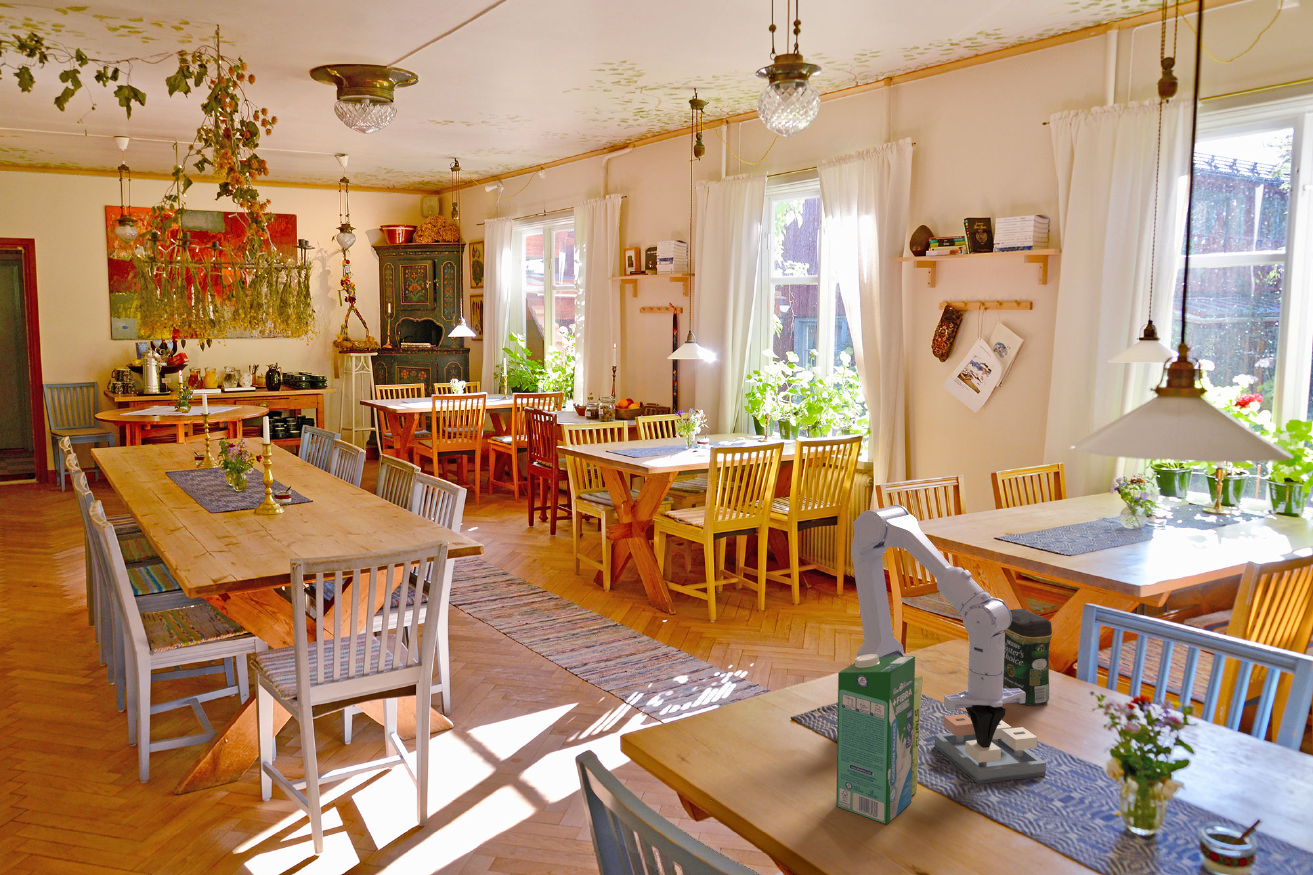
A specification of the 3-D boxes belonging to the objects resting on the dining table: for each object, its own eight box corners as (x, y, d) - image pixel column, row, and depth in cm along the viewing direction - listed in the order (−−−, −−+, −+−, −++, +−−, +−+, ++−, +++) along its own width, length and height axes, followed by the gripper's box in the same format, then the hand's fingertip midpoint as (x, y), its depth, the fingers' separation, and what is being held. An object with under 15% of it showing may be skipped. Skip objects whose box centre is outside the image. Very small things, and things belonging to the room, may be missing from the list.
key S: (978, 773, 157) (979, 750, 157) (965, 762, 161) (965, 740, 161) (1000, 771, 158) (1001, 748, 157) (986, 760, 162) (987, 738, 161)
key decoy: (955, 746, 164) (956, 724, 164) (943, 736, 168) (943, 715, 168) (976, 744, 165) (977, 722, 165) (963, 734, 169) (964, 713, 169)
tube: (912, 801, 150) (914, 687, 148) (881, 794, 152) (883, 682, 150) (920, 786, 155) (922, 675, 153) (890, 779, 157) (892, 670, 155)
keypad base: (977, 784, 156) (978, 770, 155) (934, 746, 170) (934, 734, 169) (1045, 775, 158) (1045, 762, 158) (997, 739, 172) (997, 727, 172)
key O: (990, 750, 166) (990, 728, 165) (977, 740, 170) (977, 719, 169) (1010, 747, 167) (1011, 726, 166) (997, 737, 171) (998, 716, 170)
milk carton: (861, 785, 156) (864, 643, 153) (911, 802, 150) (915, 655, 147) (835, 806, 149) (838, 658, 146) (886, 825, 143) (890, 671, 140)
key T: (1014, 761, 158) (1015, 739, 158) (1000, 750, 162) (1001, 728, 162) (1036, 759, 159) (1037, 736, 159) (1021, 748, 163) (1022, 726, 163)
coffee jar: (993, 691, 196) (996, 607, 194) (1025, 687, 198) (1028, 604, 196) (1022, 709, 186) (1026, 621, 184) (1055, 704, 188) (1059, 617, 186)
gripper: (960, 681, 152) (958, 759, 154) (1037, 674, 155) (1034, 750, 157) (938, 667, 159) (936, 741, 160) (1012, 660, 162) (1010, 733, 163)
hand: (983, 744), depth 159 cm, fingers closed, pressing on key S
